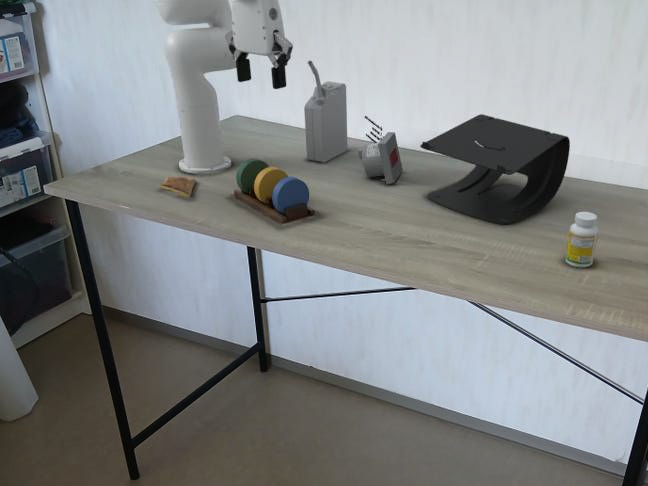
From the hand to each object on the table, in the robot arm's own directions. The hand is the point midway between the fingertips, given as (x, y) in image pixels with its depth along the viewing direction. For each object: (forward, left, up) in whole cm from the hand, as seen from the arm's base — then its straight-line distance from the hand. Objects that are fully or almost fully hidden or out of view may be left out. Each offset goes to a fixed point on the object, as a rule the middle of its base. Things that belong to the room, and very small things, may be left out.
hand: (262, 84), depth 148 cm
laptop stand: (+16, +47, -27) cm, 57 cm away
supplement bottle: (+51, +43, -27) cm, 72 cm away
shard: (-21, -13, -27) cm, 36 cm away
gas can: (-29, +26, -27) cm, 47 cm away
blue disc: (+6, +2, -26) cm, 27 cm away
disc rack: (-2, +1, -27) cm, 27 cm away
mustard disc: (-2, +1, -26) cm, 26 cm away
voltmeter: (-15, +34, -27) cm, 46 cm away
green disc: (-9, 0, -26) cm, 27 cm away
